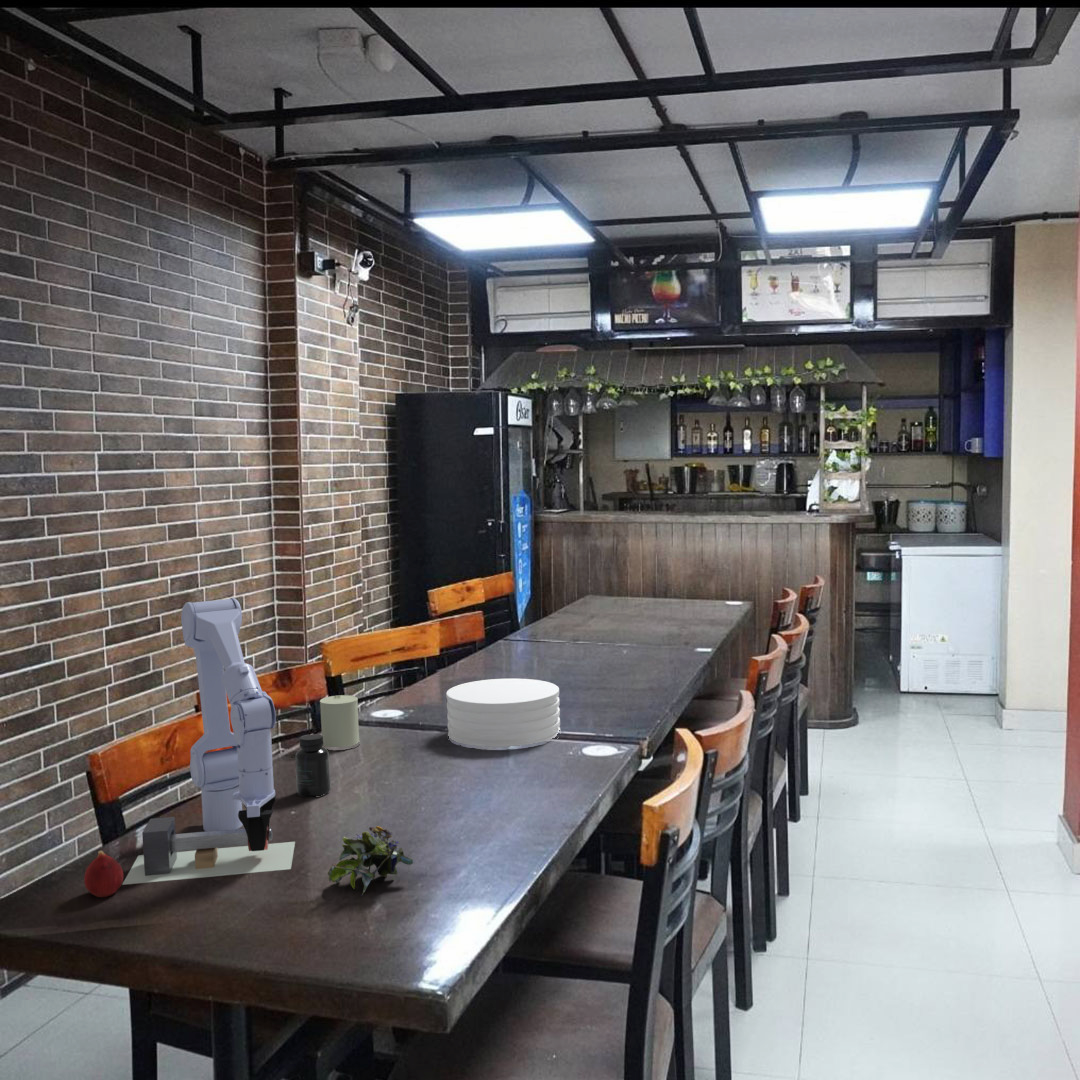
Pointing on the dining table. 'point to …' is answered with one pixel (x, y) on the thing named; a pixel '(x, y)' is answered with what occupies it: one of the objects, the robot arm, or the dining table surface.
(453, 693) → the plate stack
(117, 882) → the red kuri squash
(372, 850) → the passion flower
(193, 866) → the board
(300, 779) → the supplement bottle
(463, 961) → the dining table surface
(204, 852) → the brown rectangular block
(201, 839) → the rod
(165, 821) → the block
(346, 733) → the can
